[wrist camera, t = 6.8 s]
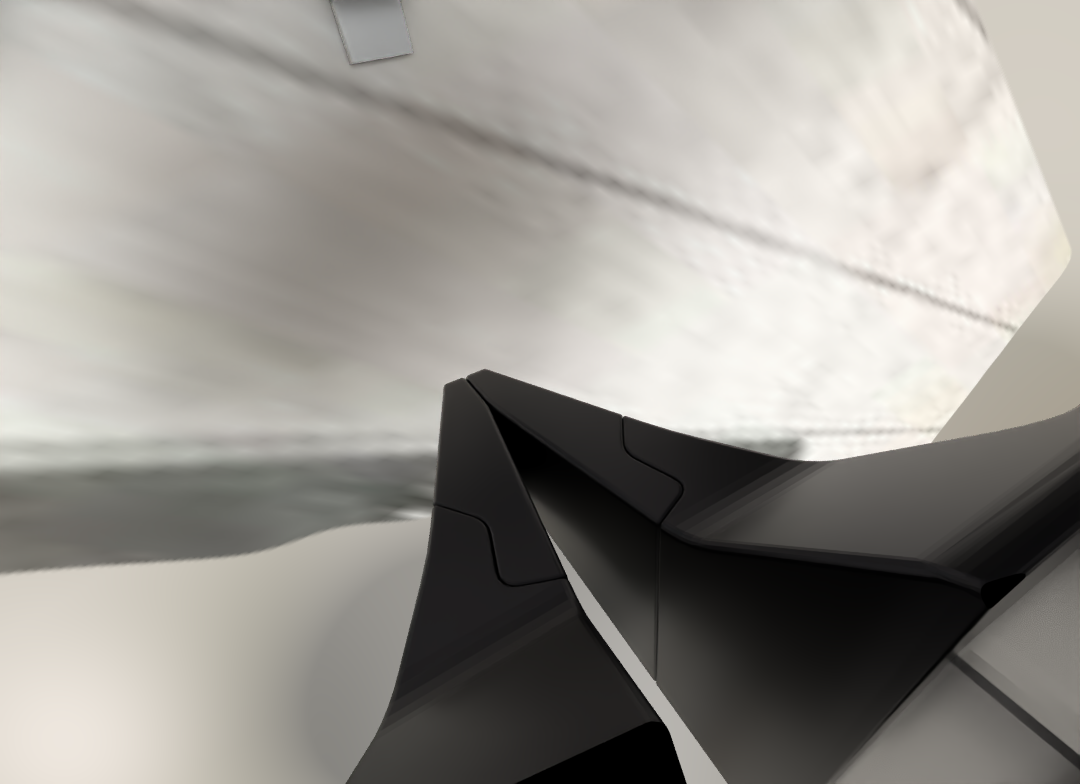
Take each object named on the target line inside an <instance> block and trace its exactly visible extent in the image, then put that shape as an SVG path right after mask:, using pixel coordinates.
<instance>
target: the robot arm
mask: <svg viewBox="0 0 1080 784" xmlns="http://www.w3.org/2000/svg"><path fill="white" fill-rule="evenodd" d="M433 506H434V507H433V509H432V517H431V528H430V535H429V542H428V550H427V556H426V560H425V565H424V570H423V574H422V579H421V584H420V588H419V592H418V596H417V600H416V604H415V609H414V612H413V616H412V620H411V624H410V628H409V632H408V636H407V641H406V644H405V648H404V653H403V656H402V661H401V665H400V668H399V673H398V676H397V680H396V684H395V687H394V691H393V694H392V697H391V700H390V703H389V706H388V708H387V711H386V713H385V716H384V718H383V721H382V723H381V725H380V727H379V729H378V731H377V733H376V735H375V737H374V739H373V741H372V742H371V744H370V746H369V747H368V749H367V750H366V752H365V754H364V755H363V757H362V758H361V760H360V761H359V763H358V765H357V766H356V768H355V769H354V771H353V773H352V774H351V776H350V777H349V779H348V781H347V782H346V784H687V783H686V780H685V777H684V774H683V771H682V768H681V765H680V762H679V760H678V756H677V753H676V750H675V747H674V744H673V741H672V738H671V735H670V732H669V730H668V728H667V727H666V726H665V724H664V723H663V721H662V720H661V718H660V717H659V716H658V714H657V713H656V711H655V710H654V709H653V707H652V706H651V704H650V703H649V702H648V700H647V699H646V698H645V696H644V695H643V693H642V692H641V690H640V689H639V688H638V687H637V685H636V684H635V682H634V681H633V679H632V678H631V677H630V675H629V674H628V672H627V671H626V670H625V668H624V667H623V665H622V664H621V663H620V661H619V660H618V659H617V657H616V656H615V654H614V653H613V651H612V650H611V649H610V647H609V646H608V644H607V643H606V642H605V640H604V639H603V638H602V636H601V635H600V633H599V632H598V631H597V629H596V628H595V626H594V625H593V624H592V622H591V621H590V619H589V618H588V616H587V615H586V613H585V611H584V610H583V608H582V606H581V604H580V603H579V600H578V598H577V596H576V595H575V592H574V590H573V588H572V586H571V584H570V582H569V581H568V578H567V575H566V573H565V570H564V568H563V566H562V564H561V562H560V560H559V557H558V555H557V553H556V551H555V549H554V547H553V545H552V542H551V540H550V538H549V536H548V534H547V532H548V533H549V535H550V536H551V537H552V539H553V540H554V542H555V543H556V544H557V546H558V547H559V549H560V550H561V551H562V552H563V554H564V556H565V557H566V558H567V560H568V561H569V562H570V564H571V565H572V567H573V568H574V569H575V571H576V572H577V574H578V575H579V576H580V578H581V579H582V581H583V582H584V583H585V585H586V586H587V588H588V589H589V590H590V592H591V593H592V595H593V596H594V597H595V599H596V600H597V602H598V603H599V604H600V606H601V607H602V609H603V610H604V611H605V613H606V614H607V616H608V617H609V618H610V620H611V621H612V623H613V624H614V625H615V627H616V628H617V629H618V631H619V632H620V634H621V635H622V636H623V638H624V639H625V641H626V642H627V643H628V645H629V646H630V648H631V649H632V650H633V652H634V653H635V654H636V656H637V657H638V659H639V660H640V662H641V663H642V664H643V666H644V667H645V669H646V670H647V671H648V673H649V674H650V676H651V677H652V678H653V680H655V681H656V683H657V686H658V687H659V688H660V690H661V691H662V693H663V694H664V695H665V697H666V698H667V700H668V701H669V702H670V704H671V705H672V706H673V708H674V709H675V711H676V712H677V714H678V715H679V716H680V718H681V719H682V721H683V722H684V723H685V725H686V726H687V728H688V729H689V730H690V732H691V733H692V734H693V736H694V737H695V739H696V740H697V741H698V743H699V744H700V746H701V747H702V748H703V750H704V751H705V753H706V754H707V755H708V757H709V758H710V760H711V761H712V762H713V764H714V765H715V767H716V768H717V769H718V771H719V772H720V774H721V775H722V776H723V778H724V779H725V781H726V782H727V783H728V784H1080V405H1078V406H1077V407H1076V408H1074V409H1072V410H1070V411H1068V412H1066V413H1064V414H1061V415H1058V416H1055V417H1052V418H1049V419H1046V420H1043V421H1039V422H1035V423H1031V424H1028V425H1024V426H1019V427H1015V428H1010V429H1005V430H1001V431H996V432H990V433H984V434H979V435H973V436H968V437H963V438H957V439H951V440H946V441H940V442H935V443H929V444H924V445H918V446H913V447H907V448H901V449H896V450H890V451H885V452H879V453H874V454H868V455H863V456H857V457H852V458H846V459H840V460H832V461H802V460H793V459H788V458H783V457H778V456H774V455H769V454H765V453H761V452H757V451H753V450H748V449H744V448H740V447H736V446H732V445H727V444H723V443H719V442H715V441H711V440H706V439H702V438H698V437H694V436H691V435H687V434H683V433H679V432H675V431H671V430H668V429H665V428H662V427H658V426H655V425H652V424H649V423H645V422H642V421H639V420H636V419H633V418H630V417H627V416H624V417H622V415H621V414H618V413H615V412H612V411H609V410H606V409H603V408H600V407H597V406H594V405H591V404H588V403H585V402H582V401H579V400H576V399H573V398H570V397H567V396H564V395H561V394H558V393H556V392H553V391H550V390H547V389H544V388H541V387H538V386H535V385H532V384H529V383H526V382H523V381H520V380H517V379H514V378H511V377H508V376H505V375H502V374H499V373H496V372H493V371H490V370H487V369H483V370H480V371H478V372H475V373H473V374H470V375H468V376H467V377H466V379H465V378H460V379H458V380H455V381H453V382H450V383H448V384H446V385H445V386H444V391H443V402H442V412H441V423H440V434H439V445H438V456H437V466H436V477H435V488H434V499H433ZM546 530H547V531H546Z"/></svg>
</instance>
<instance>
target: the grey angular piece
mask: <svg viewBox="0 0 1080 784" xmlns="http://www.w3.org/2000/svg"><path fill="white" fill-rule="evenodd" d="M329 1H330V4H331V7H332V10H333V13H334V16H335V19H336V22H337V25H338V28H339V31H340V34H341V37H342V40H343V43H344V46H345V49H346V52H347V55H348V58H349V61H350V65H351V64H356V63H362V62H367V61H373V60H378V59H384V58H389V57H395V56H400V55H406V54H411V53H414V52H413V48H412V44H411V40H410V36H409V33H408V29H407V25H406V21H405V17H404V13H403V9H402V5H401V1H400V0H329Z"/></svg>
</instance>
